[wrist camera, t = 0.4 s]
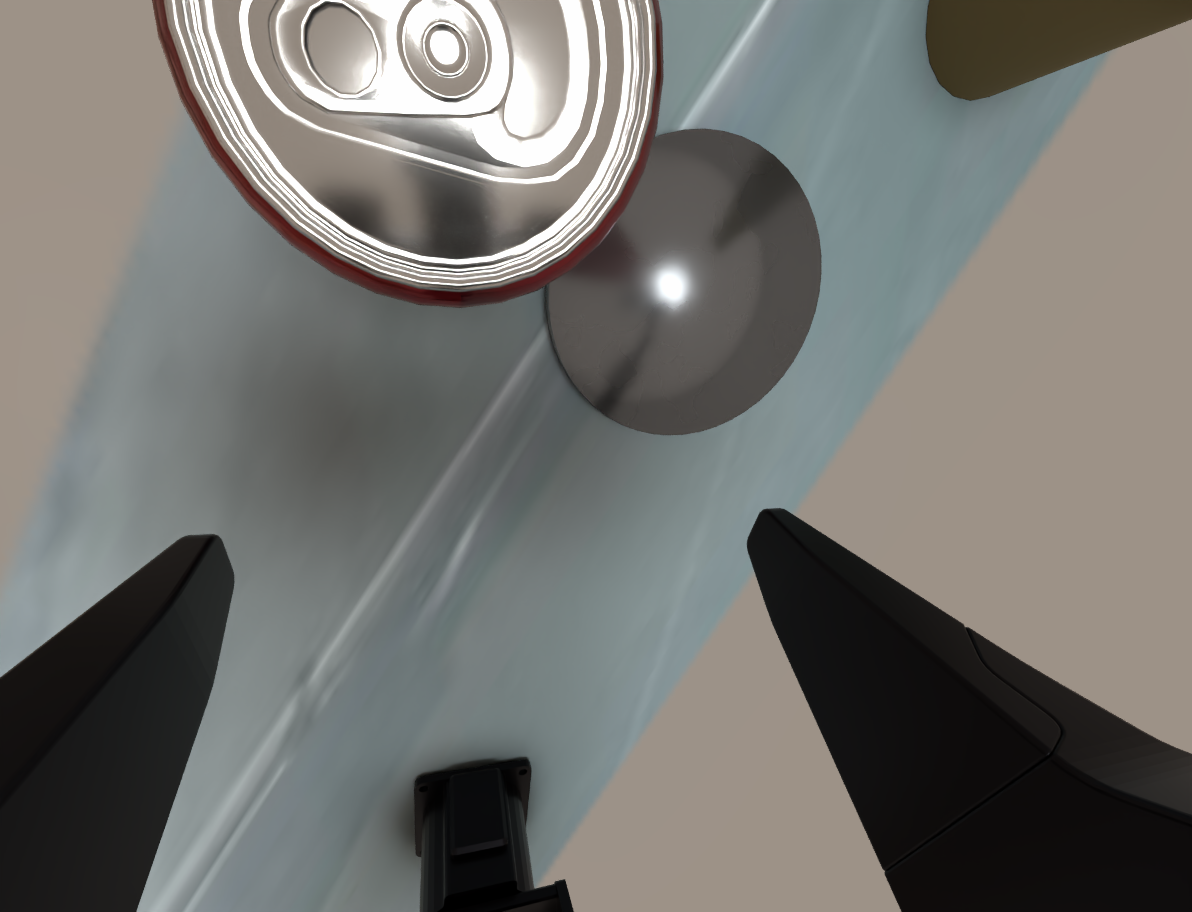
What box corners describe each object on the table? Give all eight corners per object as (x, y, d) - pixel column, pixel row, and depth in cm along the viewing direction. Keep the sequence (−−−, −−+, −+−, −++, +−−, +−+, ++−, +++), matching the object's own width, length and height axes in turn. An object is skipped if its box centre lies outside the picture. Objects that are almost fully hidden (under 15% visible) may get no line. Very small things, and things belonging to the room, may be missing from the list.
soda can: (541, 27, 17) (699, -273, 7) (547, 261, 20) (664, 307, 10) (299, 2, 16) (-1, -458, 5) (344, 262, 19) (217, 320, 8)
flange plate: (772, 431, 26) (781, 436, 26) (534, 426, 23) (537, 433, 22) (843, 160, 22) (856, 157, 21) (559, 103, 18) (564, 98, 18)
